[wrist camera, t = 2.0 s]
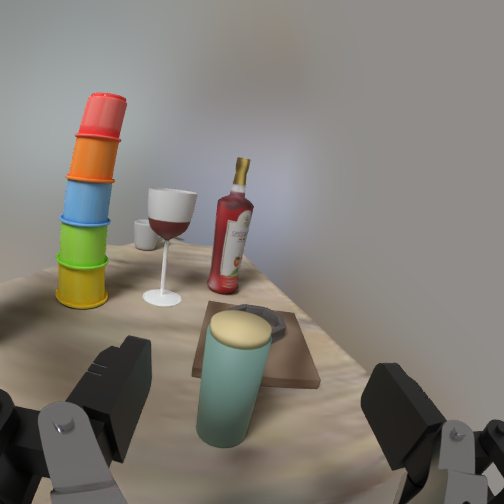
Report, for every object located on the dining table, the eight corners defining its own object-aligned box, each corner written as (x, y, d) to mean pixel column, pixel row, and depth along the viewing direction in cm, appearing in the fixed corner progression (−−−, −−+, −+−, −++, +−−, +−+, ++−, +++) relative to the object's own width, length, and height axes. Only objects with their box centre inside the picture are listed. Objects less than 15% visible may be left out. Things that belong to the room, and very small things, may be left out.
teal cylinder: (193, 444, 21) (204, 336, 18) (198, 409, 26) (211, 305, 23) (246, 450, 21) (277, 346, 18) (245, 415, 26) (270, 314, 23)
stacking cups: (97, 283, 50) (117, 106, 42) (116, 305, 43) (140, 96, 35) (51, 288, 42) (67, 98, 34) (62, 313, 36) (80, 84, 28)
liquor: (222, 281, 65) (243, 160, 59) (245, 293, 61) (269, 163, 54) (198, 286, 60) (218, 154, 53) (220, 299, 55) (244, 156, 49)
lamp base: (191, 376, 31) (193, 354, 30) (207, 307, 50) (210, 290, 49) (317, 388, 32) (325, 368, 31) (292, 319, 52) (296, 303, 51)
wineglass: (133, 292, 50) (141, 186, 45) (170, 286, 56) (181, 189, 52) (152, 310, 45) (163, 191, 40) (192, 302, 51) (206, 195, 47)
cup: (158, 243, 87) (160, 219, 85) (170, 250, 82) (173, 224, 80) (128, 245, 79) (130, 219, 77) (138, 252, 74) (140, 224, 72)
